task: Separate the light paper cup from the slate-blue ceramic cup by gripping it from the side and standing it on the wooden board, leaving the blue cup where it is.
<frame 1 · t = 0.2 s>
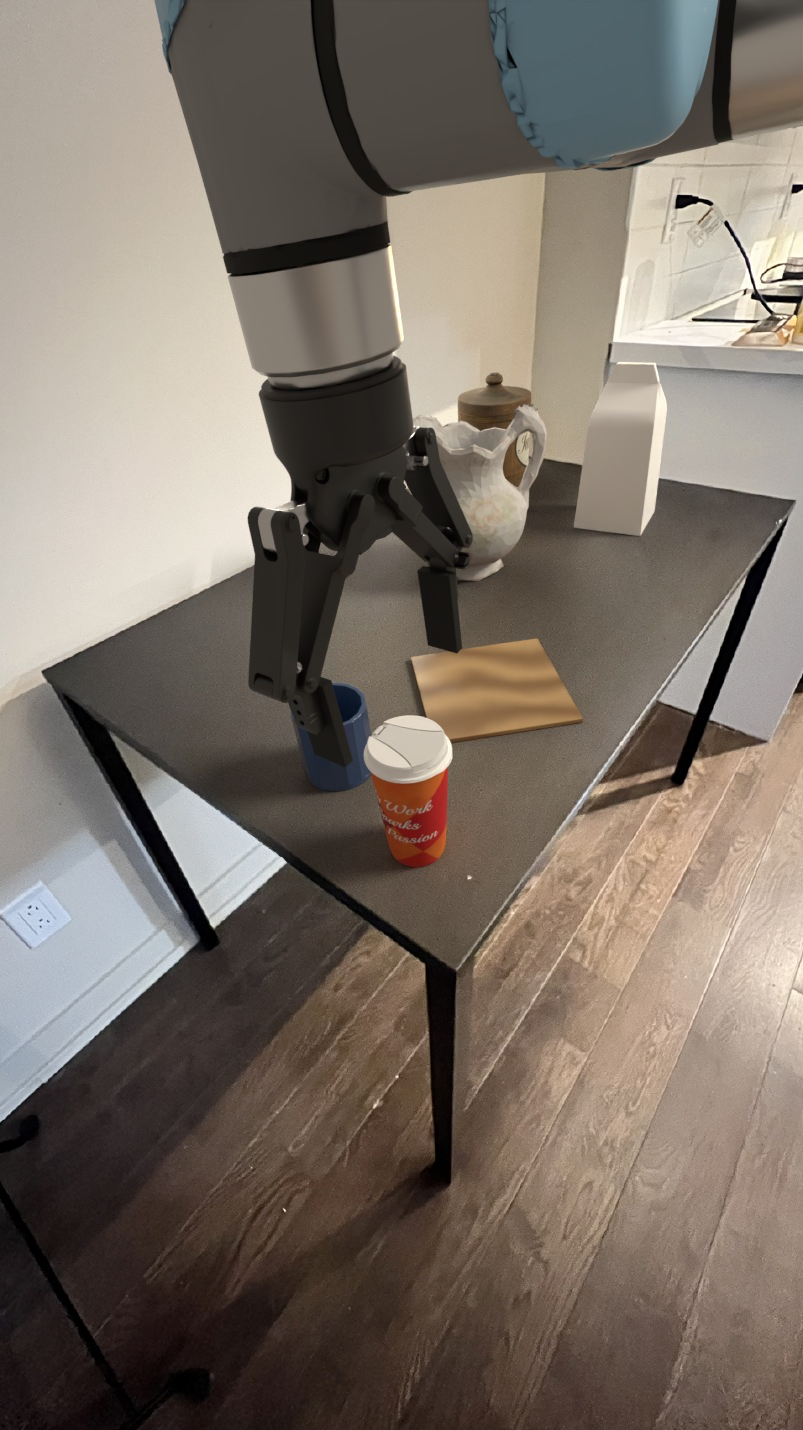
hand: (394, 697, 44), 22 cm above the table, tool pointing down, fingers open, 13 cm apart
paper cup: (418, 846, 62), on the table
blue cup: (340, 766, 72), on the table
milk: (614, 520, 117), on the table
wooden board: (489, 688, 80), on the table
wooden container: (492, 486, 135), on the table
ceramic pitcher: (474, 565, 108), on the table
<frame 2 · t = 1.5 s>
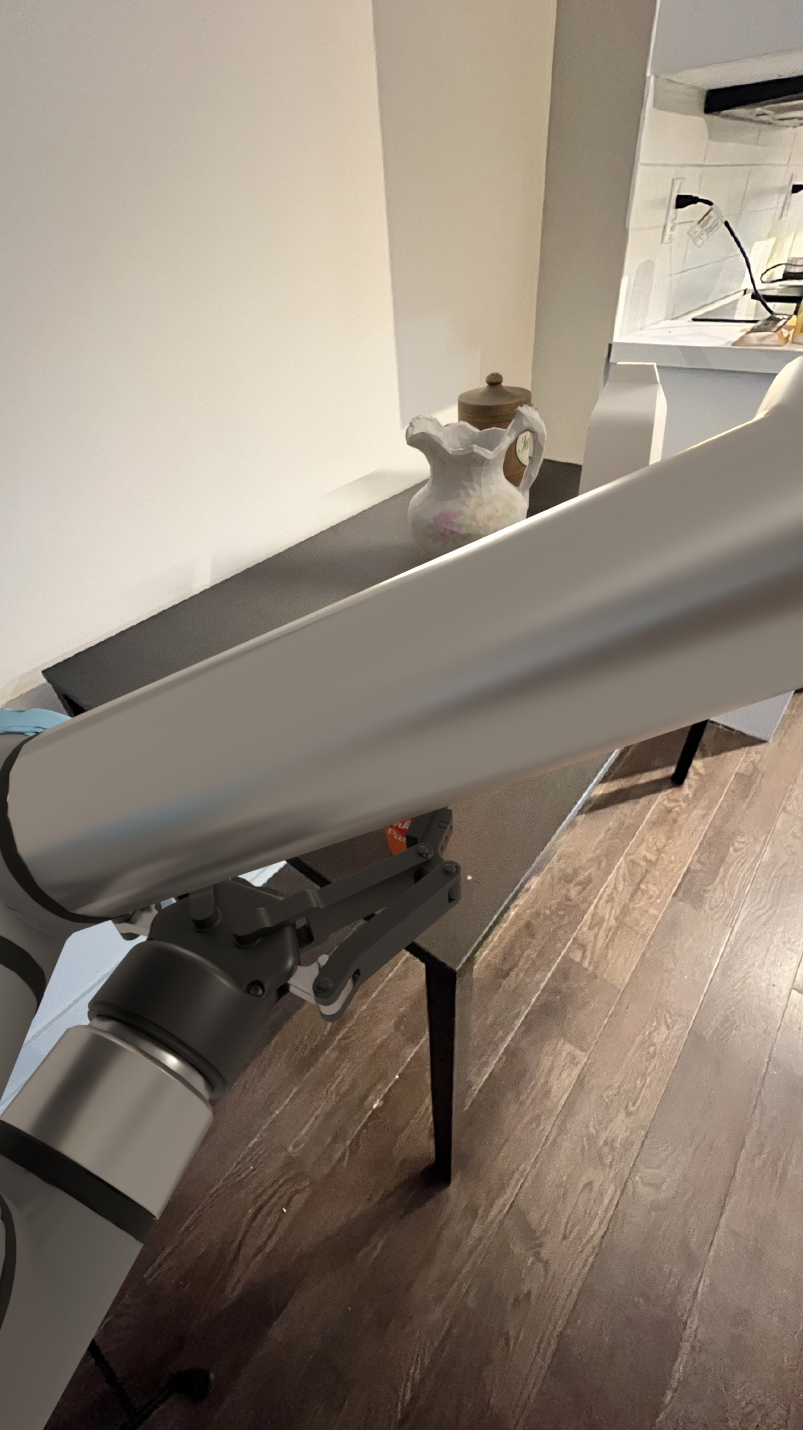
hand: (355, 751, 43), 21 cm above the table, tool horizontal, fingers open, 13 cm apart
nothing on the table moved.
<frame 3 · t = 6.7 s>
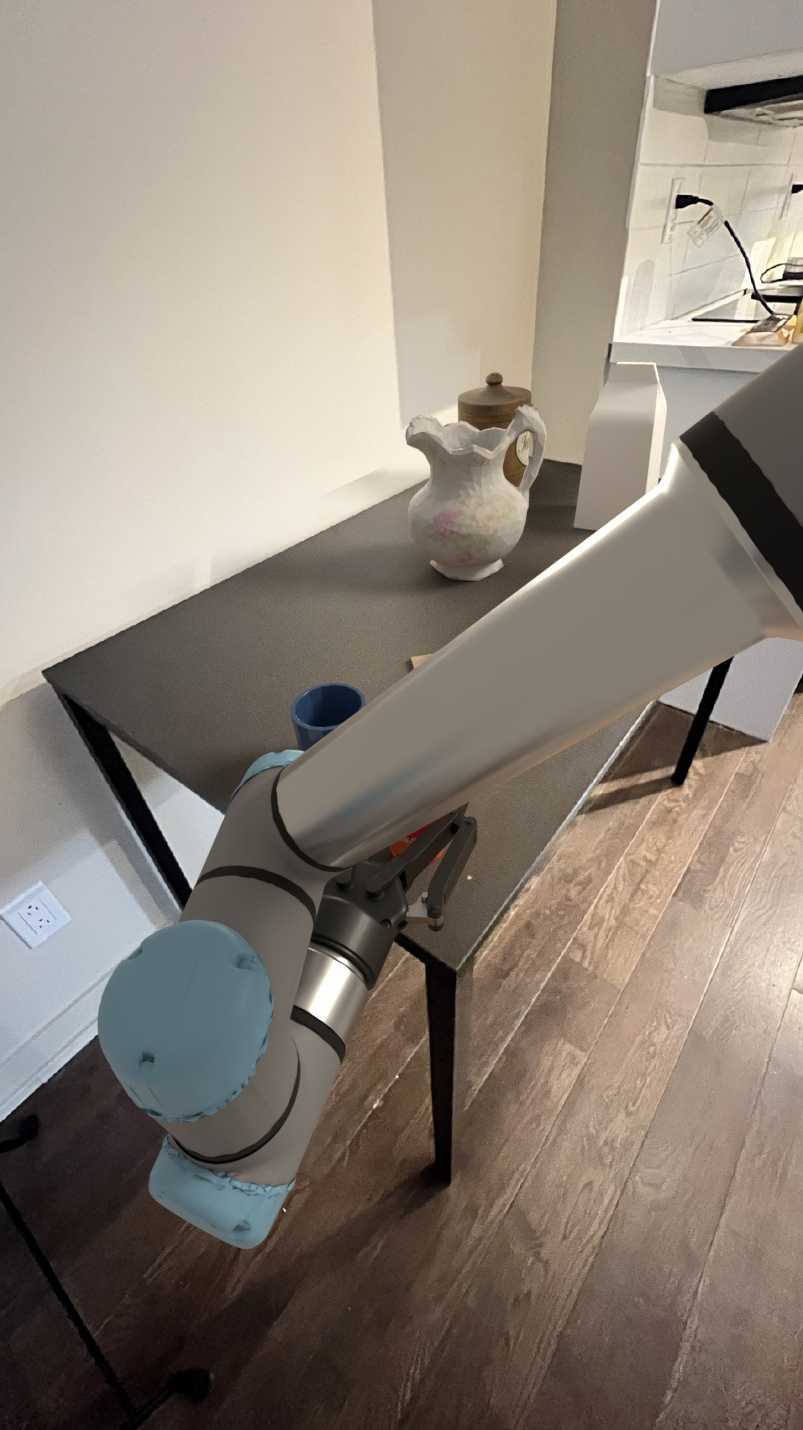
hand: (429, 756, 61), 8 cm above the table, tool horizontal, fingers closed on paper cup, 6 cm apart
paper cup: (418, 845, 62), on the table, touching gripper
everything else where it was.
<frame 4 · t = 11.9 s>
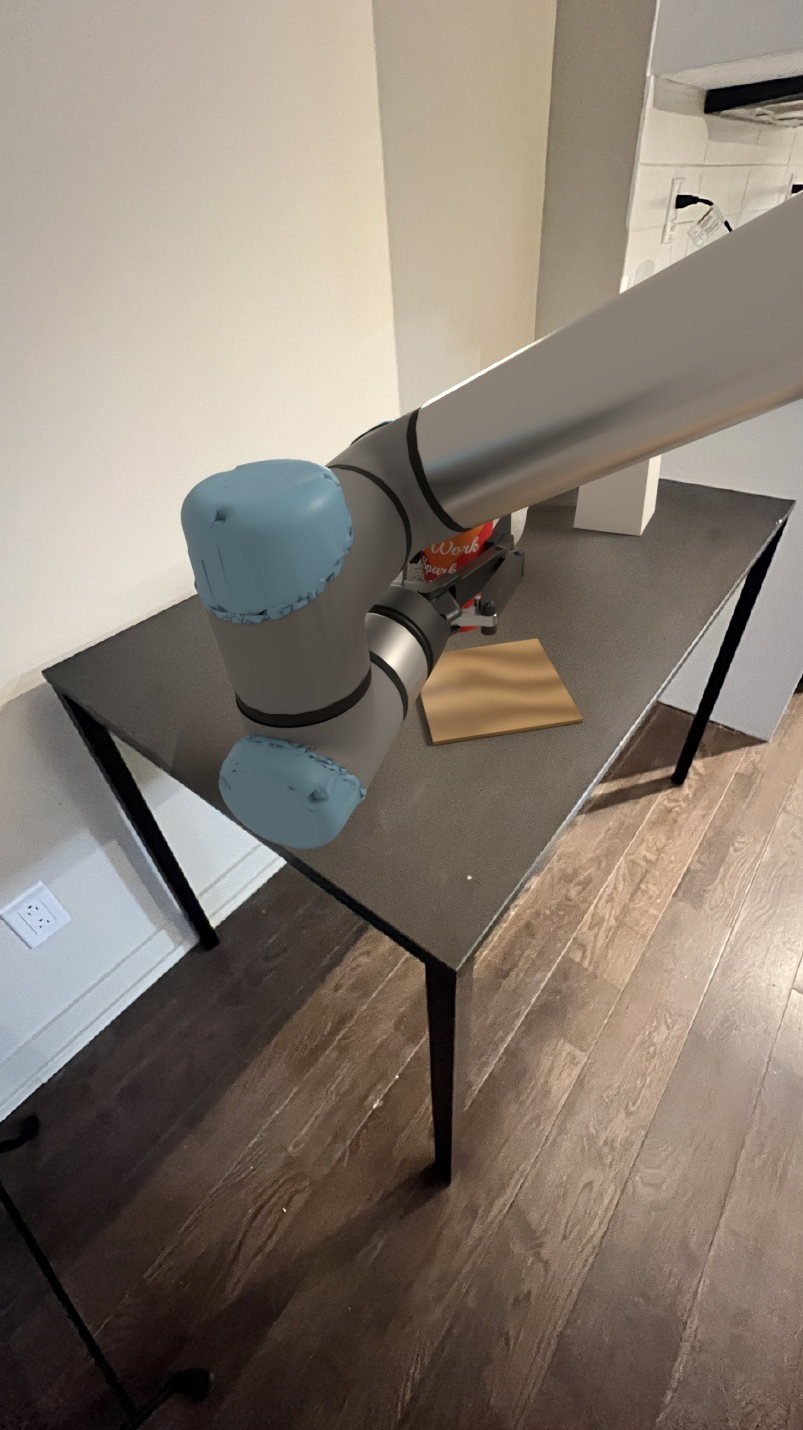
hand: (470, 523, 60), 25 cm above the table, tool horizontal, fingers closed on paper cup, 6 cm apart
paper cup: (457, 619, 61), point 17 cm above the table, touching gripper
everything else where it was.
when the fingers open (8 cm above the table, at t = 17.3 s): paper cup stays where it is, resting on wooden board.
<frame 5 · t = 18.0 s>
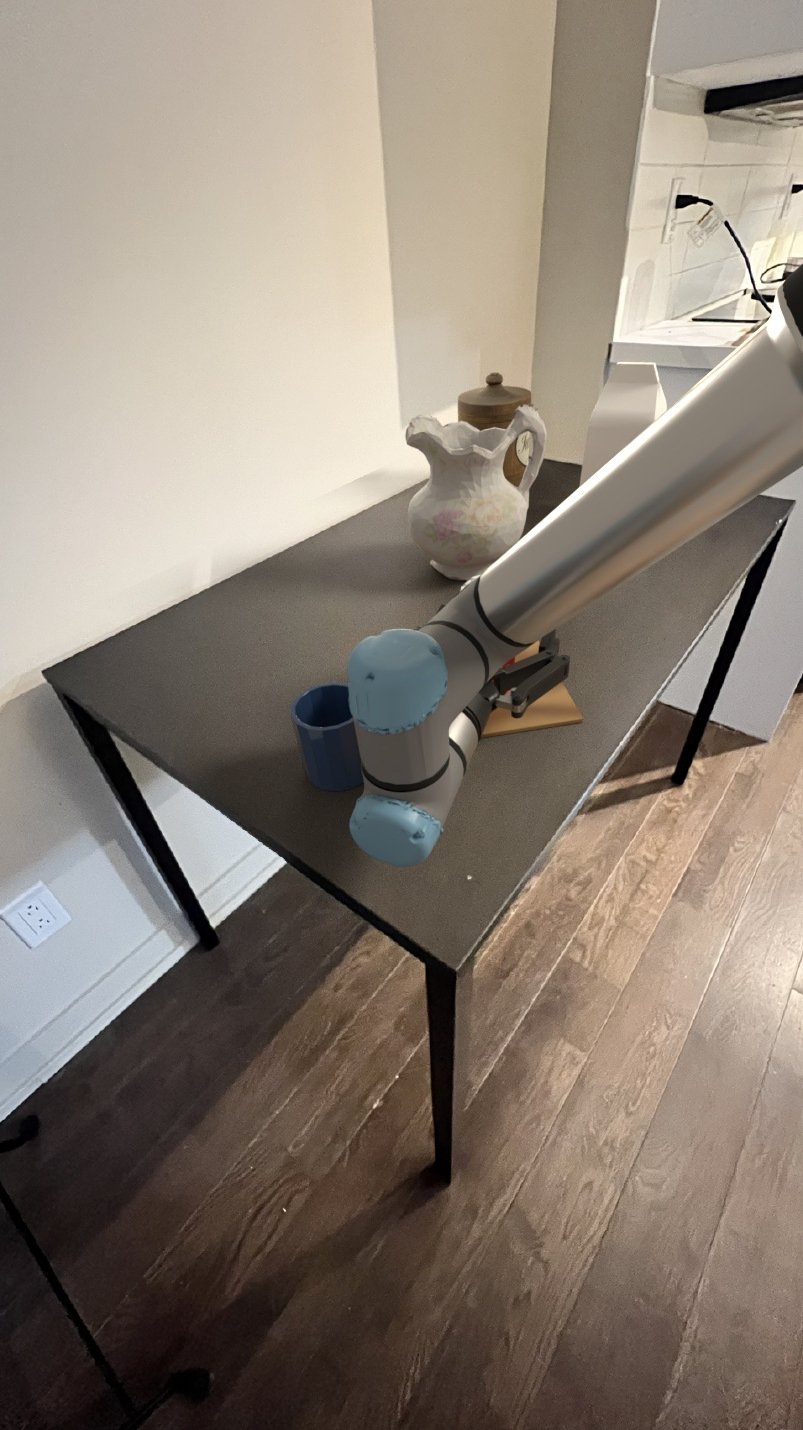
hand: (497, 620, 77), 8 cm above the table, tool horizontal, fingers open, 13 cm apart
paper cup: (490, 686, 80), resting on wooden board
everything else where it was.
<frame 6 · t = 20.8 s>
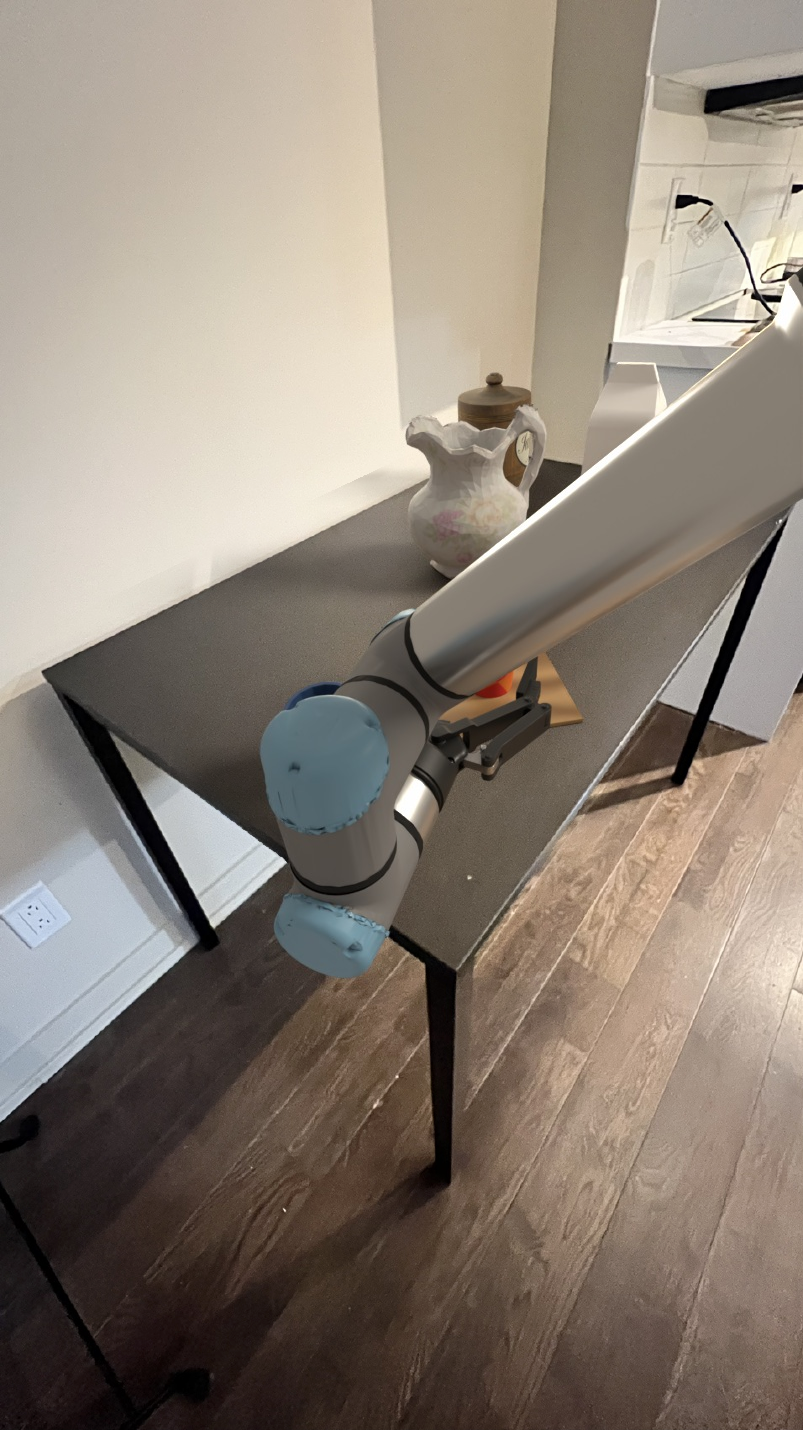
hand: (471, 656, 68), 11 cm above the table, tool horizontal, fingers open, 13 cm apart
blue cup: (339, 763, 71), on the table, tilted 6°
everything else where it was.
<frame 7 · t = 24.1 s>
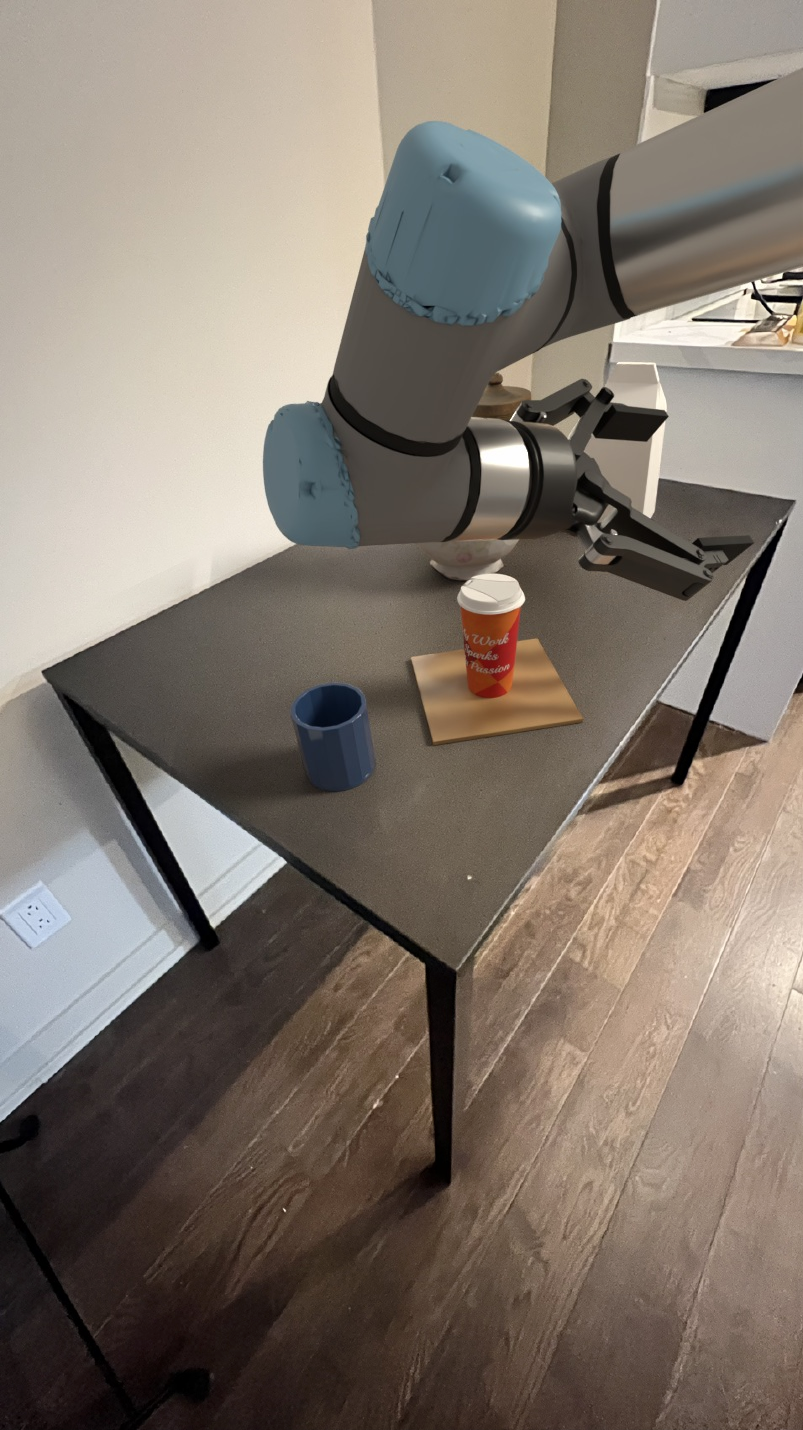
hand: (695, 485, 52), 29 cm above the table, tool horizontal, fingers open, 13 cm apart
blue cup: (340, 766, 72), on the table
everything else where it was.
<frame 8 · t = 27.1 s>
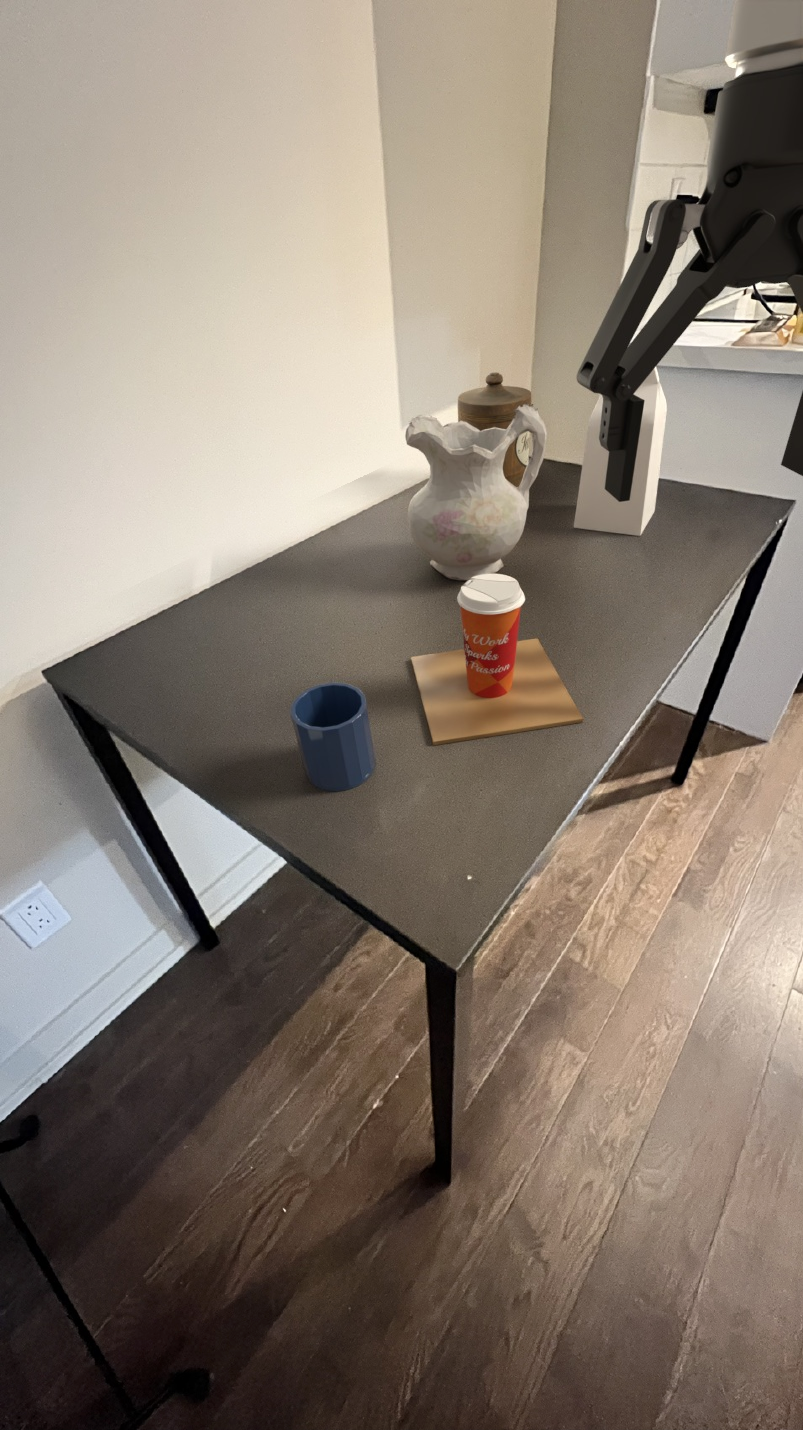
hand: (707, 482, 45), 32 cm above the table, tool pointing down, fingers open, 13 cm apart
nothing on the table moved.
at the end: paper cup inside the target area on the wooden board (0.0 cm from its centre), point 0.4 cm above the wooden board's base; paper cup tilted 0°; blue cup moved 0.0 cm from its start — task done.
